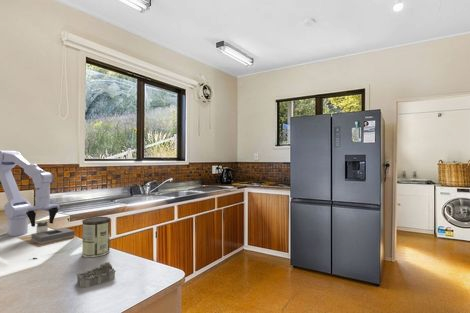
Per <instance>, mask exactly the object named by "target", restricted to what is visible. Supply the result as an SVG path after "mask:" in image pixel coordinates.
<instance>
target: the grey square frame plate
mask: <svg viewBox="0 0 470 313" xmlns="http://www.w3.org/2000/svg"><path fill="white" fill-rule="evenodd" d="M30 235H31V241H34V242H36V243H39V244H46V243H50V242H54V241H59V240H63V239H68V238H72V237H74V236H75V230H73V229H70V228H66V227H61V228H56V229H52V230H48V231H44V232H39V233H37V232H35V233H31V234H30Z"/></svg>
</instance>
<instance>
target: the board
mask: <svg viewBox="0 0 470 313" xmlns="http://www.w3.org/2000/svg"><path fill="white" fill-rule="evenodd" d="M16 238H17V239H19V240H21V241H24V242H26V243H29V244H30V245H33V246H35V247H37V248H41V247H45V246H49V245H55V244H58V243H63V242H67V241H71V240H74V239H79V238H80V237H79V236H76V235H74V237H72V238H68V239H63V240H59V241H54V242H50V243H46V244H39V243H36V242H34V241H31V234H28V235H21V236H18V237H17V236H16Z"/></svg>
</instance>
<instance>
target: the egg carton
mask: <svg viewBox="0 0 470 313" xmlns="http://www.w3.org/2000/svg"><path fill="white" fill-rule="evenodd" d="M116 272H117V271H116V269H115V268H113V266H112V264H111V263H110V261H109V262H104V263H102V264H100V265H99V266H97V267H96V266H95V267H94V268H92V269H89V270H85V271H84V272H78V273H75V275H76V278H77V280H76V281H77V282H76V283H77V284H79V288H89V287H90V286H91V285H93V284H94V285H99V284H102V283H103V282H104V281H109V282H111V281H113V279H115V277H116V276H115V275H116V274H115V273H116Z"/></svg>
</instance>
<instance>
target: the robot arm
mask: <svg viewBox="0 0 470 313" xmlns="http://www.w3.org/2000/svg"><path fill="white" fill-rule="evenodd" d="M16 166H19V167H20V168H22V169H23V172H24V173H25V174H26V175H27V176H28V177H29V178H31V179H32V182H33V184H34V188H35V201H34V202H35V205H33V206H32V204H31V203H30V202H29V200H28V199H27V198H24V197H22V195H21V192H20V190H19V187H18V185H17V181H16V180H15V177H14V175H13V172H12V169H14V168H15V167H16ZM53 181H54V176H53V174H52V172H50V171H45V170H44V169H42V168H41V167H39V166H38V164H36V163H30V162H29V161H28V160H27V159H25V157H23V156H22V153H21V152H19V150H17V149H16V150H6V149H4V150H3V149H0V183H1V185H2V189H3V191H4V194H5V196H6V199H7V202H6V203H5V204H4V206H3V208H4V215H5V217H6V218H7V220H8V221H7V225H6V226H7V227H6V233H7V235H9V236H12V237H13V236H14V237H17V236H18V237H19V236H25V235H26V234H28V231H29V230H28V226H29V223H30V225H31V227H33V228H34V227H36V216H37V215H36V214H37V213H36V212H37V211H38V212H39V211H44V210H48V214H49V215H48V216H49V219H48V223H49V224H54V220H55V217H56V216H57V213H58V212H59V209H60V204H59V203H53V204H51V203H50V202H51V201H50V200H51V183H52V182H53Z"/></svg>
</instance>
